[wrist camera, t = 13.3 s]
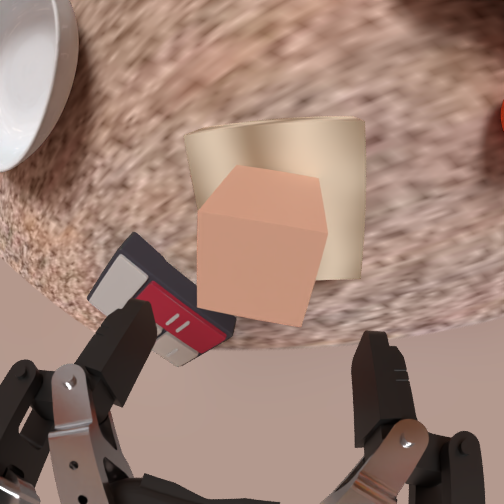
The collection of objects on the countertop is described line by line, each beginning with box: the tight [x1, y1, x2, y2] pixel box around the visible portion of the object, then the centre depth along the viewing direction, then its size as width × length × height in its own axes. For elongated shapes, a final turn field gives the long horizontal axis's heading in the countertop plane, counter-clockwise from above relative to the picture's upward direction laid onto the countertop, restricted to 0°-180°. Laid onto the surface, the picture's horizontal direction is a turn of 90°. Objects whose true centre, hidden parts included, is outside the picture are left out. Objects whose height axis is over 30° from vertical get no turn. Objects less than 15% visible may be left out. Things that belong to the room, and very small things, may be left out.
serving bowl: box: [0, 0, 79, 172], centre depth 17 cm, size 21×21×7 cm
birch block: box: [183, 116, 366, 280], centre depth 22 cm, size 12×12×5 cm
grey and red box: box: [87, 232, 236, 367], centre depth 32 cm, size 11×4×15 cm
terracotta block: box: [197, 165, 328, 327], centre depth 17 cm, size 6×6×8 cm
